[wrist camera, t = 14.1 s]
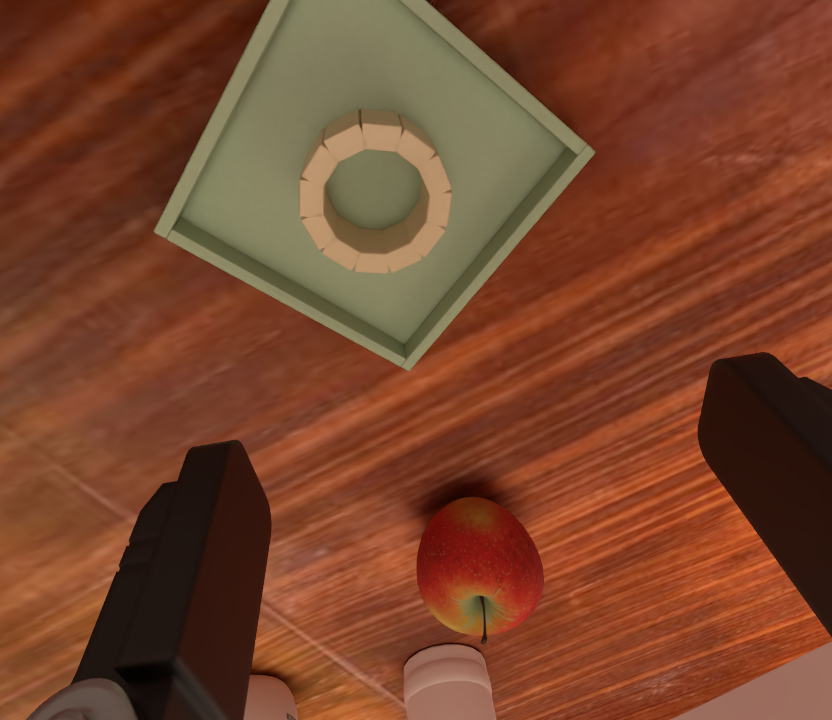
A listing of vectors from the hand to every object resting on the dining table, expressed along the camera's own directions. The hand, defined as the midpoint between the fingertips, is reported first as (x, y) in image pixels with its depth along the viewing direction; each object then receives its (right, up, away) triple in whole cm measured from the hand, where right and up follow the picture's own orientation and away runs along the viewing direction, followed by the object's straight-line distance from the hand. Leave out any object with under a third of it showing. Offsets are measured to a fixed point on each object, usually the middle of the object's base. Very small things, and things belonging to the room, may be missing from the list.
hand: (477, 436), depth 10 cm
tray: (-3, +10, +17) cm, 20 cm away
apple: (+3, -10, +31) cm, 33 cm away
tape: (-3, +10, +16) cm, 19 cm away
